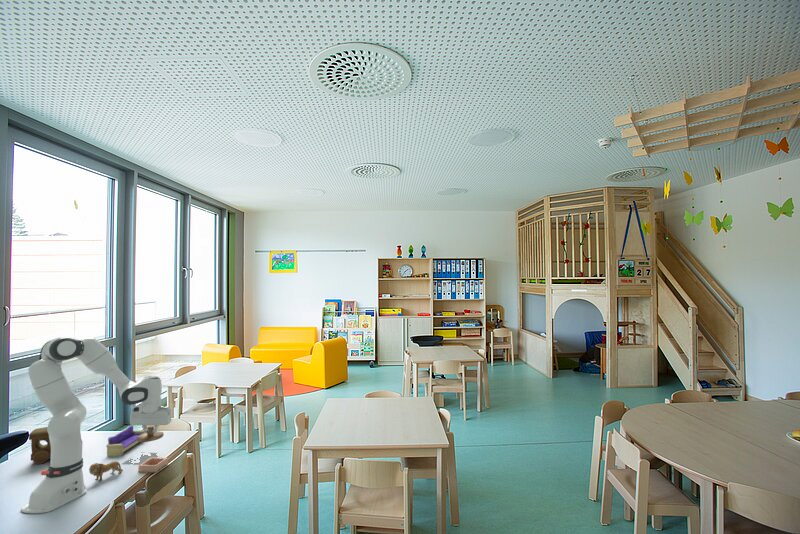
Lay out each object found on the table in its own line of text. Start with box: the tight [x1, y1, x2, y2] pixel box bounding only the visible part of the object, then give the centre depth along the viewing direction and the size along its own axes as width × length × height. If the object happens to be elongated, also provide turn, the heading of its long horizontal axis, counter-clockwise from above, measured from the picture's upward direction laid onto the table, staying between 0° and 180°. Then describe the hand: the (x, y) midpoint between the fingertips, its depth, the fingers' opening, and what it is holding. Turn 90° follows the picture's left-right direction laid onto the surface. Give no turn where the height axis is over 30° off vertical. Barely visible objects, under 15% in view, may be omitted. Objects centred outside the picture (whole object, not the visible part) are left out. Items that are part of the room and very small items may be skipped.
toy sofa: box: [105, 425, 144, 457], centre depth 224 cm, size 21×9×10 cm, turn 1°
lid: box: [137, 425, 164, 443], centre depth 204 cm, size 12×12×5 cm
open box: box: [137, 457, 169, 474], centre depth 199 cm, size 9×9×4 cm
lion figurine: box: [88, 460, 124, 482], centre depth 191 cm, size 15×5×9 cm, turn 153°
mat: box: [121, 452, 159, 466], centre depth 210 cm, size 14×14×1 cm
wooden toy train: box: [28, 426, 51, 465], centre depth 211 cm, size 20×11×17 cm, turn 119°
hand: (150, 432), depth 204 cm, fingers closed on lid, 3 cm apart
